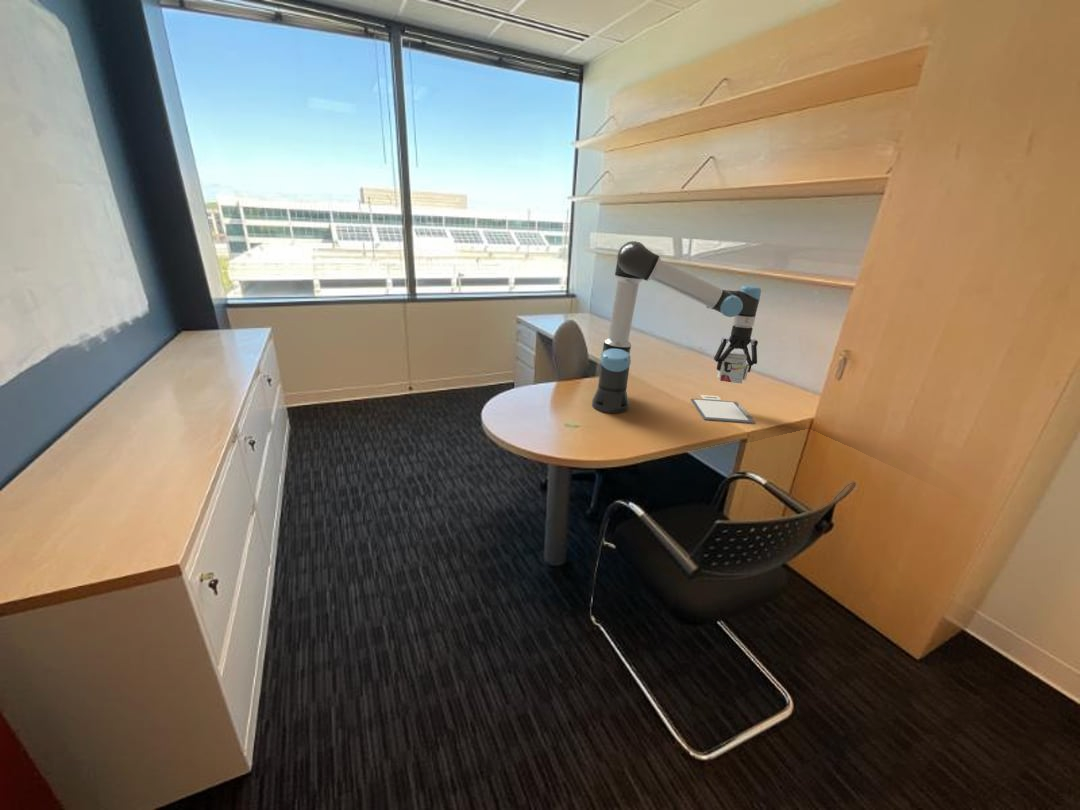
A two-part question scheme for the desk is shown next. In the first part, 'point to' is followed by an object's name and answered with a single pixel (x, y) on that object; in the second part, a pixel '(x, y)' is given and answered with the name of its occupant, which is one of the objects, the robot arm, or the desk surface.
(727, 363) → the ink box
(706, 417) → the whiteboard
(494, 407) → the desk surface
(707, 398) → the word card
